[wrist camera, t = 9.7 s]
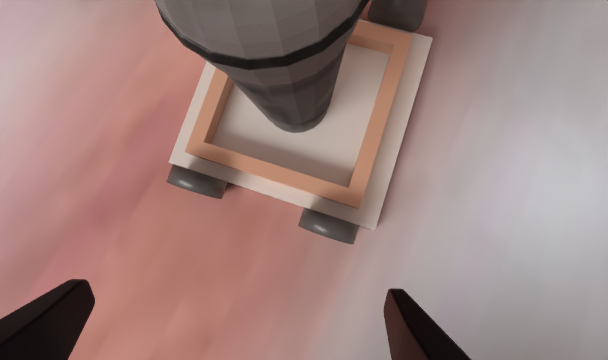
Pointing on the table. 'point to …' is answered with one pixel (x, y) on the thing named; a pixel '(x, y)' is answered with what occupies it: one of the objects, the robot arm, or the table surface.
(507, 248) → the table surface
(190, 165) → the chassis
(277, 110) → the beverage cup
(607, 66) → the table surface
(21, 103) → the table surface
